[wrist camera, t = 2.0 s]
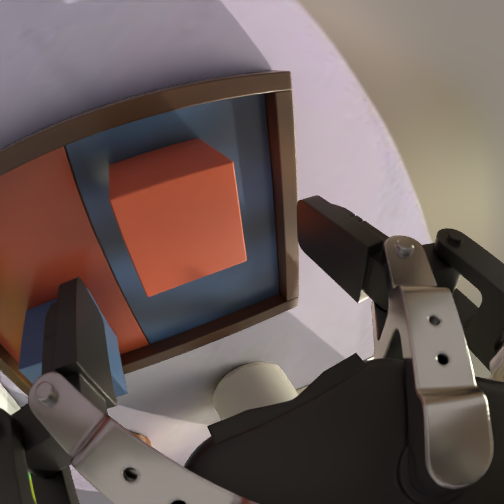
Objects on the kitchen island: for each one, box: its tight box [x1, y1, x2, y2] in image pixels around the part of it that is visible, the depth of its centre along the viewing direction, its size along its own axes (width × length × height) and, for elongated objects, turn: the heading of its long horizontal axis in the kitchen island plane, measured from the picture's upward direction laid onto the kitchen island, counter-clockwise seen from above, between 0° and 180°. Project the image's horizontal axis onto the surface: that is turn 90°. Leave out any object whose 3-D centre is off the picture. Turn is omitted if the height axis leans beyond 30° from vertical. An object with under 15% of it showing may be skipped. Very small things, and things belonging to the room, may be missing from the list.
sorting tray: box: [0, 71, 299, 396], centre depth 15 cm, size 16×22×2 cm
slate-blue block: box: [19, 287, 128, 397], centre depth 14 cm, size 4×4×4 cm
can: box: [212, 362, 299, 421], centre depth 24 cm, size 8×8×12 cm
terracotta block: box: [109, 138, 247, 297], centre depth 13 cm, size 4×4×4 cm
